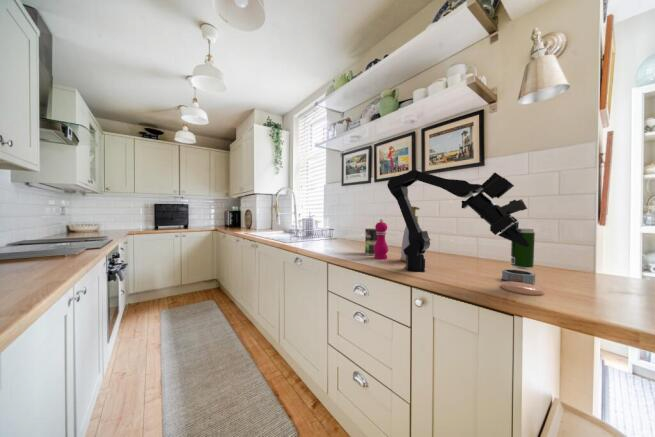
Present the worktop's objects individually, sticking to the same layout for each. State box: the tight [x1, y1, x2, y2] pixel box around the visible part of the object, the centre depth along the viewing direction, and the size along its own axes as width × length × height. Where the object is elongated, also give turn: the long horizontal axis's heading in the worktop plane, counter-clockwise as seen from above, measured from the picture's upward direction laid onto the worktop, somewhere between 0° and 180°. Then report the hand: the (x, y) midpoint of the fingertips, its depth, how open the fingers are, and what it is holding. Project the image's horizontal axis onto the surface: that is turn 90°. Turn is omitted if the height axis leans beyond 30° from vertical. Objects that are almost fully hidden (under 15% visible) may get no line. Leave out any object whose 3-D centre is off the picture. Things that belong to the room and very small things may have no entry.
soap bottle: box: [400, 206, 425, 263], centre depth 111 cm, size 11×12×26 cm
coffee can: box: [364, 228, 377, 257], centre depth 130 cm, size 10×10×14 cm
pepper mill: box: [374, 218, 389, 260], centre depth 118 cm, size 7×7×20 cm
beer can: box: [510, 227, 536, 271], centre depth 71 cm, size 5×5×12 cm
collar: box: [501, 268, 536, 285], centre depth 79 cm, size 8×8×3 cm
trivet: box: [500, 280, 545, 296], centre depth 69 cm, size 10×10×1 cm
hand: (528, 245), depth 70 cm, fingers closed on beer can, 5 cm apart
